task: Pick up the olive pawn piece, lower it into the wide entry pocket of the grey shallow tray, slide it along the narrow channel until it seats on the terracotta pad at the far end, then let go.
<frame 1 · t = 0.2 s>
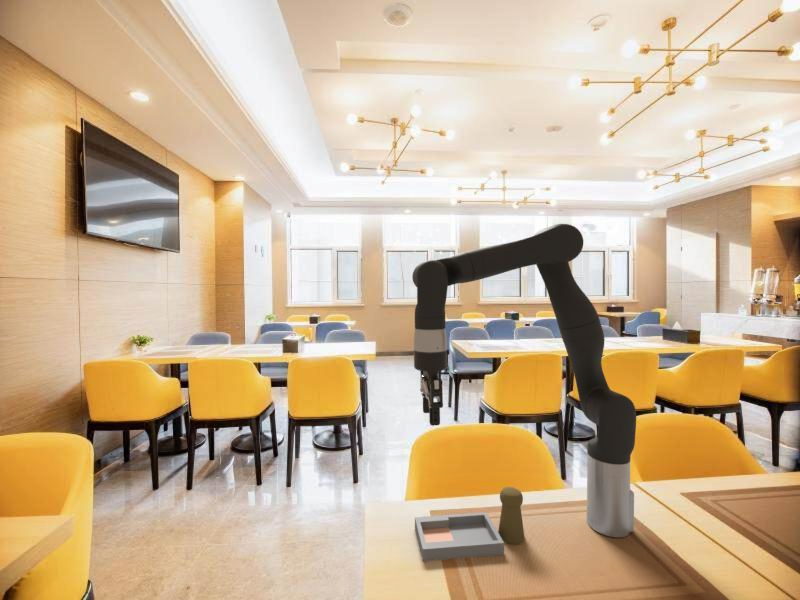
hand: (431, 418, 87), 28 cm above the table, fingers open, 8 cm apart
grey shallow tray: (457, 540, 87), on the table
olive pawn piece: (511, 537, 89), on the table
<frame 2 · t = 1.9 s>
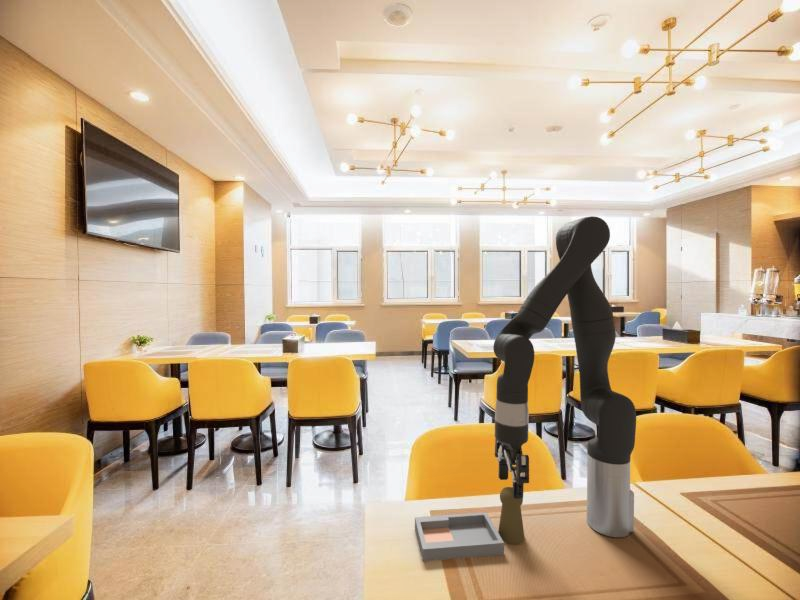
hand: (510, 487, 88), 11 cm above the table, fingers open, 8 cm apart
nothing on the table moved.
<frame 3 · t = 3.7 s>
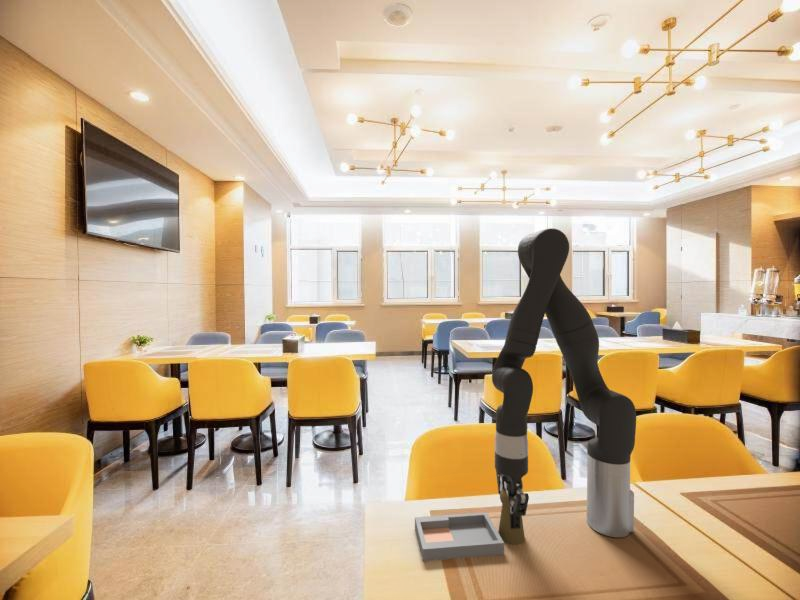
hand: (511, 522, 89), 3 cm above the table, fingers closed on olive pawn piece, 4 cm apart
olive pawn piece: (511, 537, 88), on the table, touching gripper
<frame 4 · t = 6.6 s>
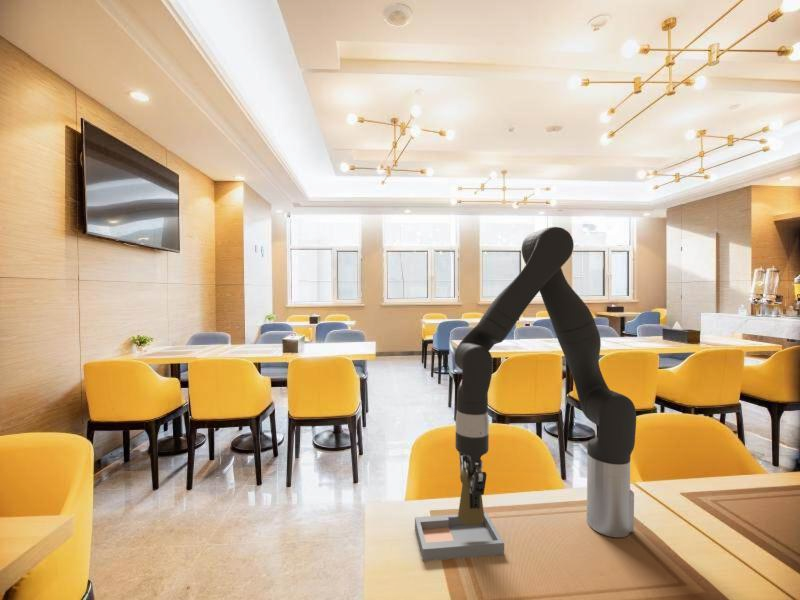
hand: (471, 502, 87), 9 cm above the table, fingers closed on olive pawn piece, 4 cm apart
olive pawn piece: (471, 518, 87), point 5 cm above the table, touching gripper
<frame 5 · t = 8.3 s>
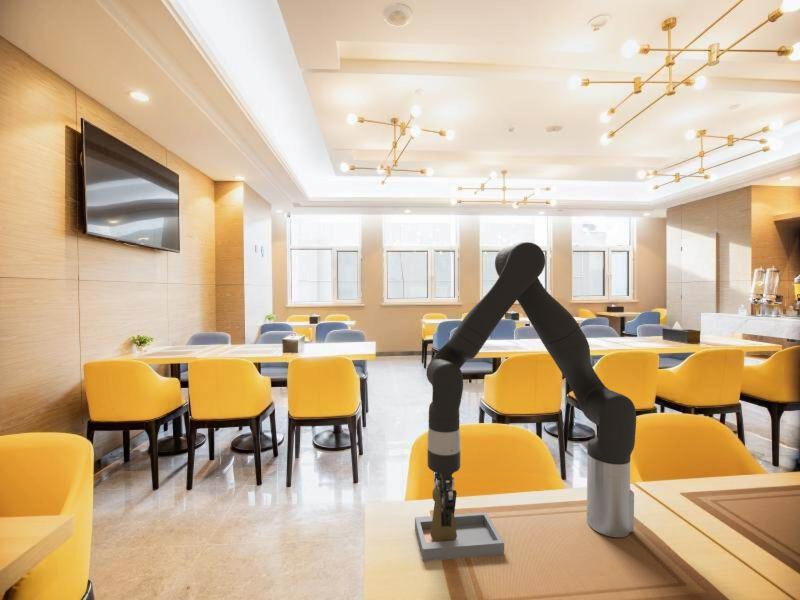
hand: (443, 520, 87), 5 cm above the table, fingers closed on olive pawn piece, 4 cm apart
olive pawn piece: (443, 535, 87), point 1 cm above the table, touching gripper
when the fingers open (5 cm above the table, at t = 9.7 s): olive pawn piece stays where it is, resting on grey shallow tray.
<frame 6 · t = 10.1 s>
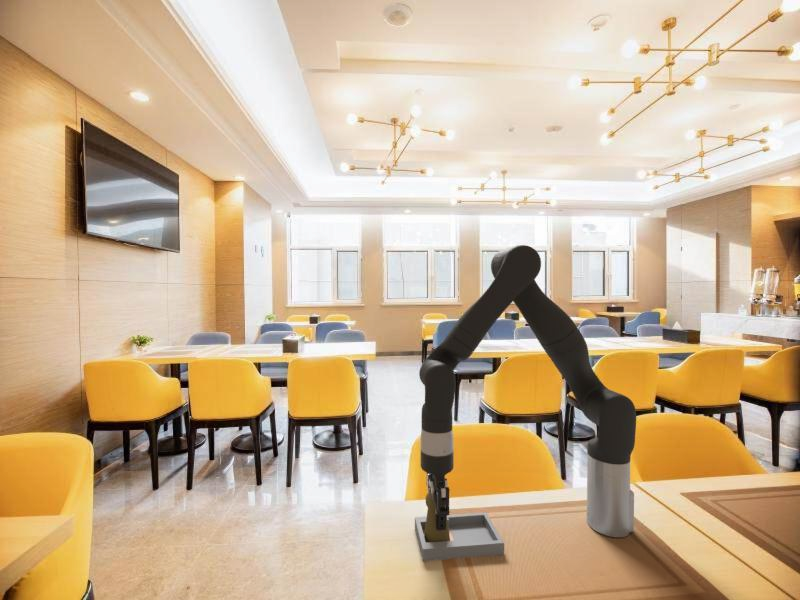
hand: (437, 518, 87), 5 cm above the table, fingers open, 7 cm apart
olive pawn piece: (437, 541, 86), point 1 cm above the table, touching grey shallow tray
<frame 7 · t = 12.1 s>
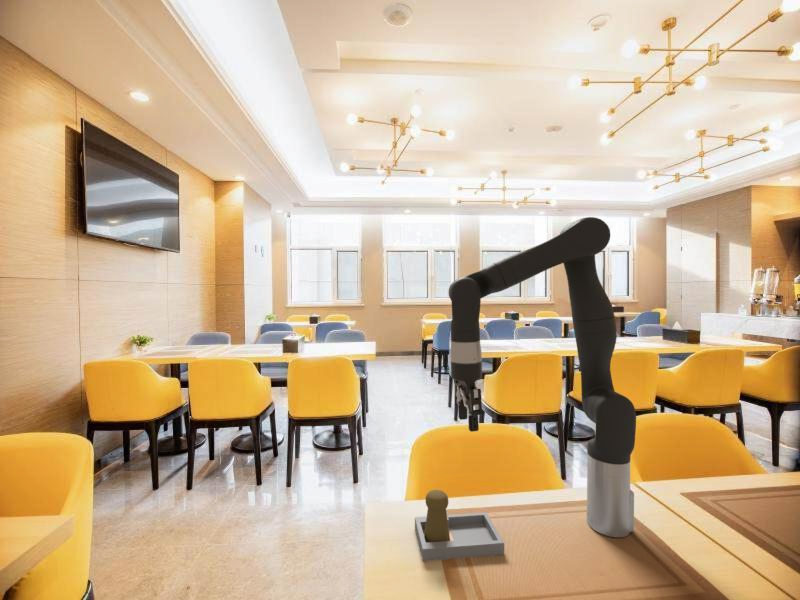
hand: (468, 424, 93), 25 cm above the table, fingers open, 8 cm apart
nothing on the table moved.
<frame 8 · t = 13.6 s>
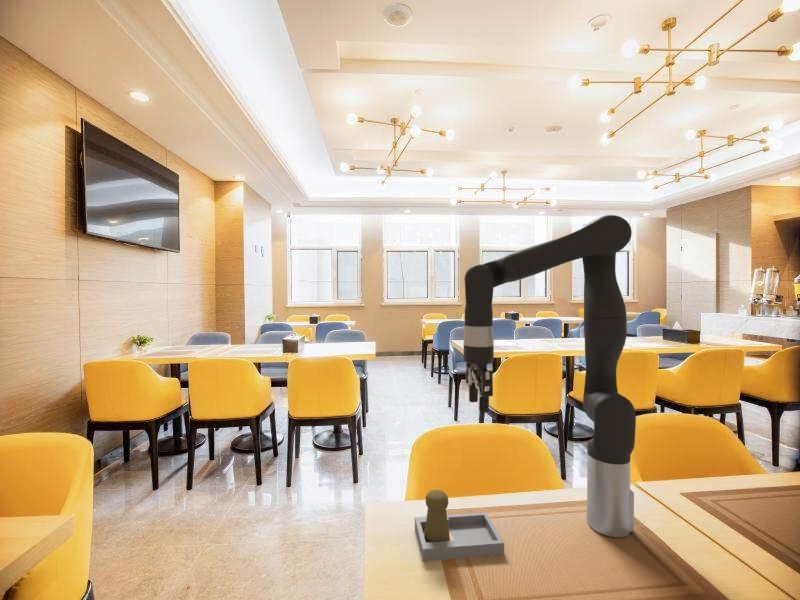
hand: (478, 406, 96), 28 cm above the table, fingers open, 8 cm apart
nothing on the table moved.
at the end: olive pawn piece 0.9 cm from the target spot, point 0.5 cm above the table; olive pawn piece tilted 0°; the gripper is holding nothing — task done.
